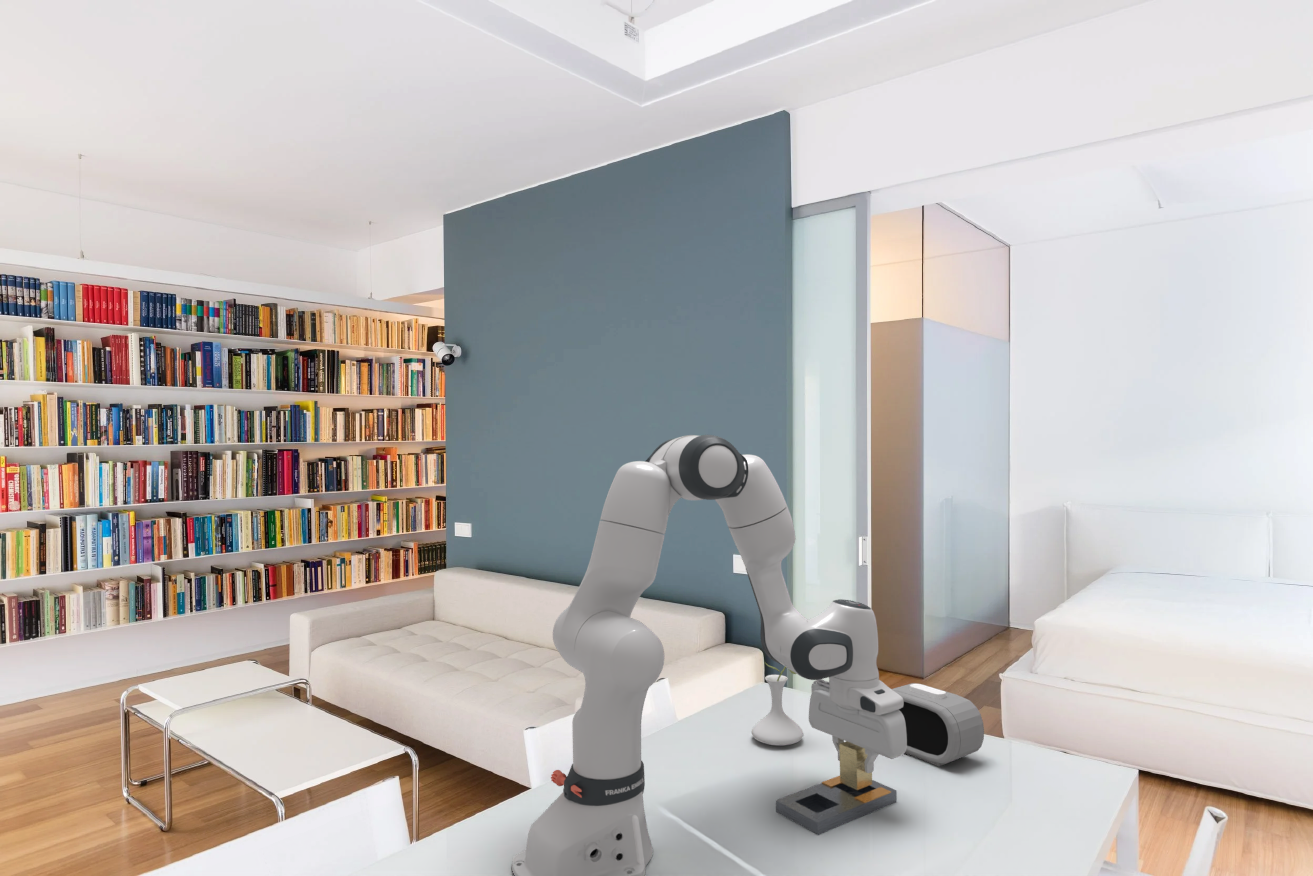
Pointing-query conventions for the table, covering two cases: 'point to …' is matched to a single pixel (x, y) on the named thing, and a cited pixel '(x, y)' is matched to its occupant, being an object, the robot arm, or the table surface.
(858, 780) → the brass block
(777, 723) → the flower in vase
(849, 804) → the rail
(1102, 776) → the table surface
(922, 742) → the alarm clock
